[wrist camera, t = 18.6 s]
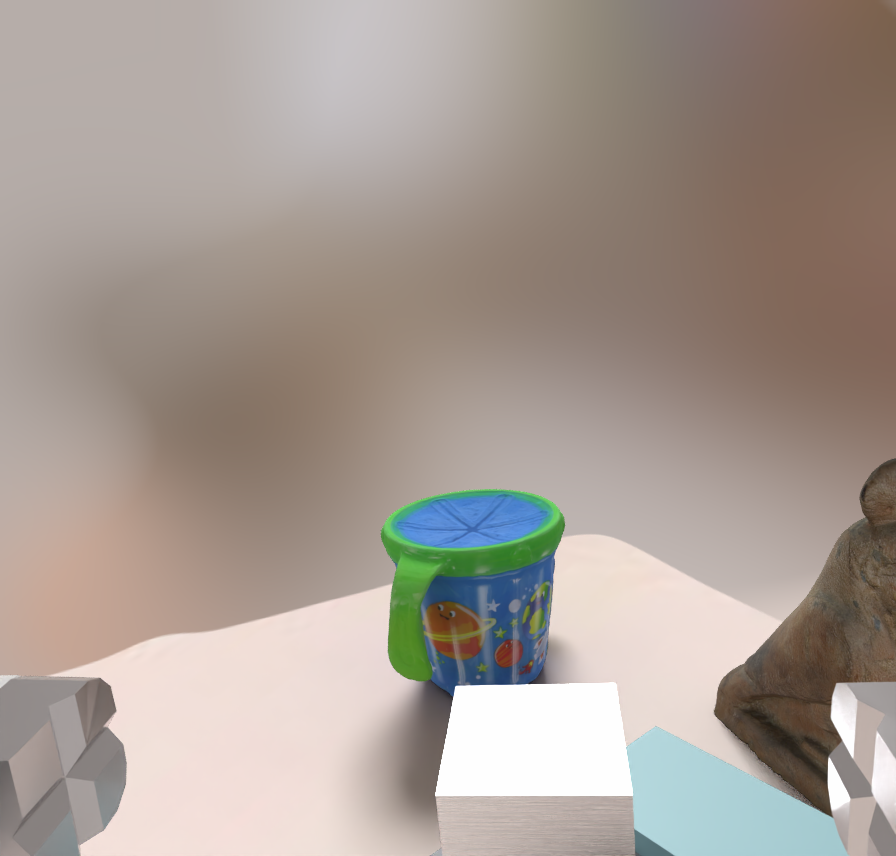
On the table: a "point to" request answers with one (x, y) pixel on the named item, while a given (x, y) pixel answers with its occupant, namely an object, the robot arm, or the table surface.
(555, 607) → the table surface
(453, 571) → the snack cup
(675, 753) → the toy truck
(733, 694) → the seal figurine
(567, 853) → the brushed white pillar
